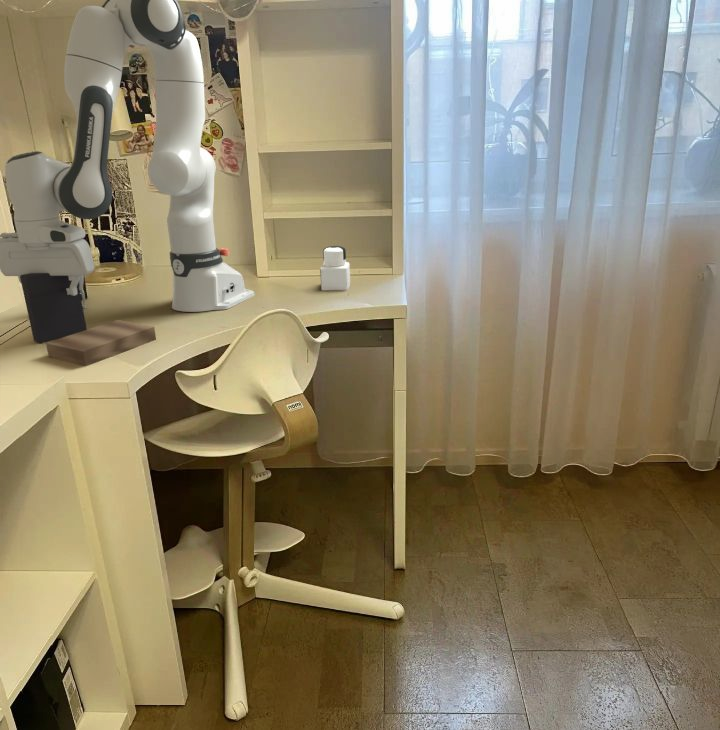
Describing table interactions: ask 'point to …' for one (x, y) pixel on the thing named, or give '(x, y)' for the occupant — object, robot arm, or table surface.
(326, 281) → the medicine bottle
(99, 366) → the table surface
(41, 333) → the black upright rectangular block
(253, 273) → the table surface
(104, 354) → the walnut plinth
